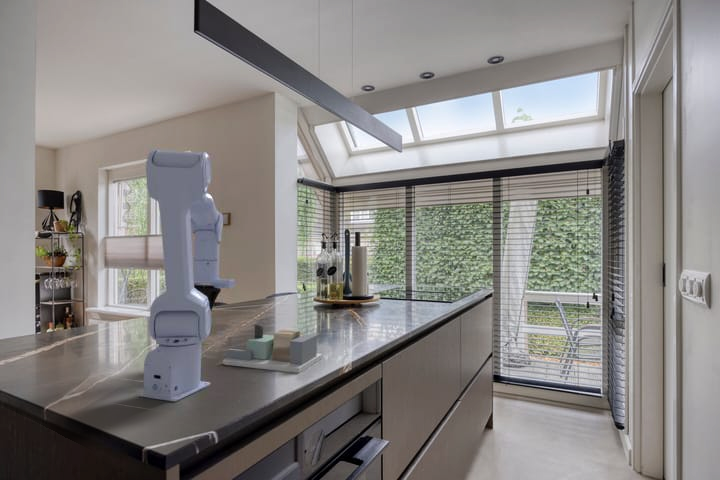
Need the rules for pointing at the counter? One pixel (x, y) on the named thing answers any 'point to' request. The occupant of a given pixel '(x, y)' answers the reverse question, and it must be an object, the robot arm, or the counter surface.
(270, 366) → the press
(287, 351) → the block
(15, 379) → the counter surface
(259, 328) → the mint block with peg
